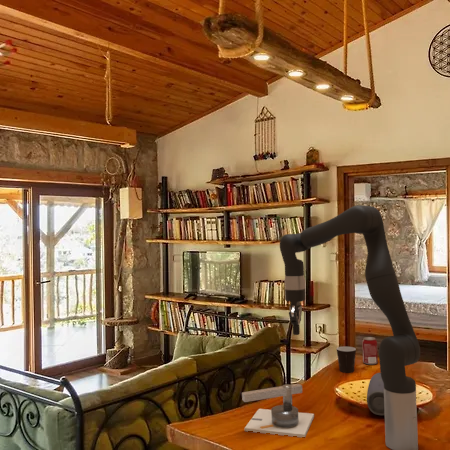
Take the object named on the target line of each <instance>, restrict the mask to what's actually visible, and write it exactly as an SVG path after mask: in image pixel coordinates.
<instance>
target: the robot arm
mask: <svg viewBox="0 0 450 450" xmlns="http://www.w3.org/2000/svg"><path fill="white" fill-rule="evenodd" d="M347 234H357V235H358V234H359V235H361V234H362V236H363V239H364V241H365V246H366V250H367V255H366V262H365V263H366V264H365V268H364V271H365V272H364V277H365V282H366V284H367V290H368V292H369V294H370V297H371V299H372V301H373V302H374V304H375V305H376V306H377V308H379V309H380V311H381V312H382V313H383V314H384V315H385V317H386V319H387V321H388V323H389V325H390V328H391V330H392V331H391V332H392V335H391V336H388V337H385V338H383V339H382V340H381V342H380V343H379V347H378V348H379V349H378V359H379V360H378V361H379V371H380V372H379V373H381V378H382V380H383V383H384V410H385V415H384V434H385V436H384V437H385V439H384V440H385V446H386V447H387V448H389V449H390V450H419V445H418V443H419V440H418V439H419V438H418V437H419V436H418V434H419V433H418V415H417V414H418V413H417V412H418V411H417V384H416V383H417V382H416V380H415V379H414V378H412V376H411V377H410V376H407V373H406V367H407V366H410V365H414V364H416V363H418V362H419V360H420V358H421V347H420V343H419V341H418V338H417V335H416V332H415V330H414V328H413V325H412V323H411V321H410V317H409V314H408V311H407V309H406V305H405V302H404V299H403V296H402V292H401V288H400V285H399V281H398V277H397V274H396V271H395V268H394V263H393V261H392V257H391V254H390V251H389V246H388V243H387V236H386V231H385V224H384V220H383V217H382V214H381V212H380V210H379V209H378V208H377V207H375V206H372V205H362V204H361V205H357V204H356V205H353V206H351V207H350V208H348V209H346V210H344V211H343V212H342V213H339V214H338V215H337V216H334V217H332V218H330V219H328V220H326V221H323V222H321V223H318V224H316V225H312V226H310V227H307V228H305V229H304V230H302V231H301V232H297V233H289V234H283V236H282V237H281V238H280V240H279V249H280V253H281V257H282V261H283V264H284V299H285V302H290V305H289V306H288V307H289V312H288V316H289V320H290V324H291V325H292V334H293V336H299V335H300V332H301V331H300V330H301V329H300V324H301V321H302V314H303V313H302V312H303V307H302V304H301V302H304V301H306V280H305V265H304V261H303V260H302V259H299V258H297V255H296V254H298V253H303V252H306V251H308V250H310V249H311V248H314V247H317V246H320V245H324V244H326V243H328V242H330V241H331V240H333V239H334V238H336V237H338V236H342V235H347Z"/></svg>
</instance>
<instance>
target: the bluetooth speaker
mask: <svg viewBox="0 0 450 450" xmlns="http://www.w3.org/2000/svg"><path fill="white" fill-rule="evenodd" d="M366 403H367V404H366V405H367V407H368V410H369V411H370V412H371V413H373V414H374V415H376V416H385V410H384V383H383V380H382V378H381V372H377V373H375V374H373V375H372V376H371V378H370V380H369V383H368V386H367V391H366Z"/></svg>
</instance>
